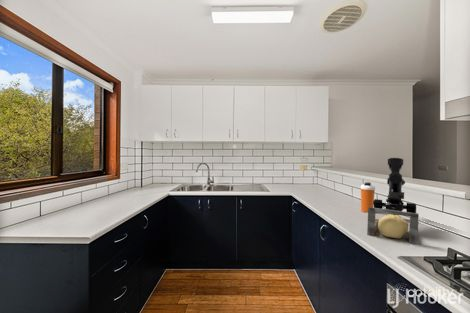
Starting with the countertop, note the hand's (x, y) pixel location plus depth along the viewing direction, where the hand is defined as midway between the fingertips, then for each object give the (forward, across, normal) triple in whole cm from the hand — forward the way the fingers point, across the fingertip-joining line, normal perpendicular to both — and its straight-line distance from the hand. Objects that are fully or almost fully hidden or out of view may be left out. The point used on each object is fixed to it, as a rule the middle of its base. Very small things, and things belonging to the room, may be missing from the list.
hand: (392, 219), depth 126 cm
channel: (+6, 0, +4) cm, 7 cm away
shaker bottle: (-26, -17, +36) cm, 47 cm away
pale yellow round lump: (+9, 0, 0) cm, 9 cm away
